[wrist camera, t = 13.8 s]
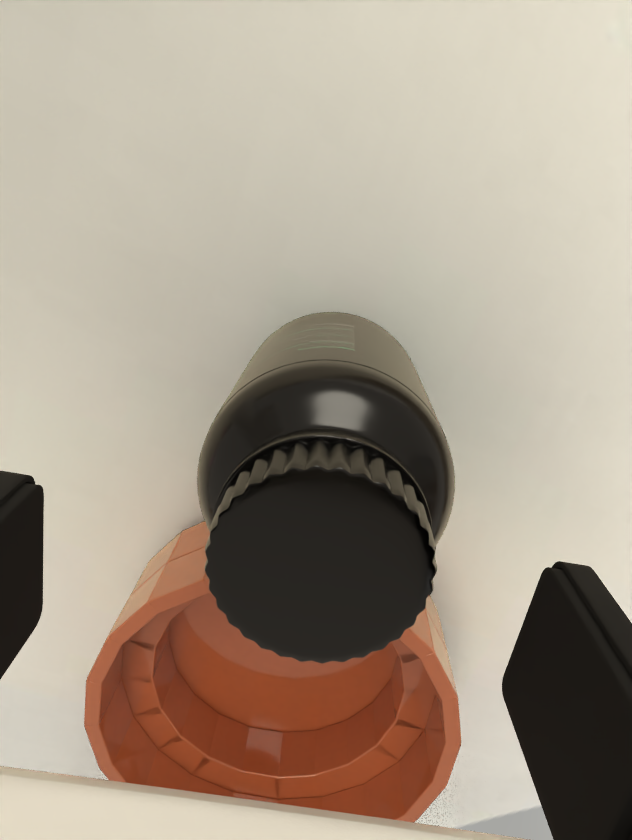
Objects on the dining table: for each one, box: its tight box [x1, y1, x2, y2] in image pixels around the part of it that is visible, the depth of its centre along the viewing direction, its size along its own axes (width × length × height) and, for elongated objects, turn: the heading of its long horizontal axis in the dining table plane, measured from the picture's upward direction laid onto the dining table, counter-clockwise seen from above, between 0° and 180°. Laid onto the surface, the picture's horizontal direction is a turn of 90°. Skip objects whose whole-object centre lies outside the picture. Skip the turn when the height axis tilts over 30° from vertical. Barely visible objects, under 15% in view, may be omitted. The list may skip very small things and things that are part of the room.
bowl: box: [84, 521, 461, 823], centre depth 25 cm, size 14×14×6 cm
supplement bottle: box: [197, 312, 455, 664], centre depth 18 cm, size 7×7×12 cm
